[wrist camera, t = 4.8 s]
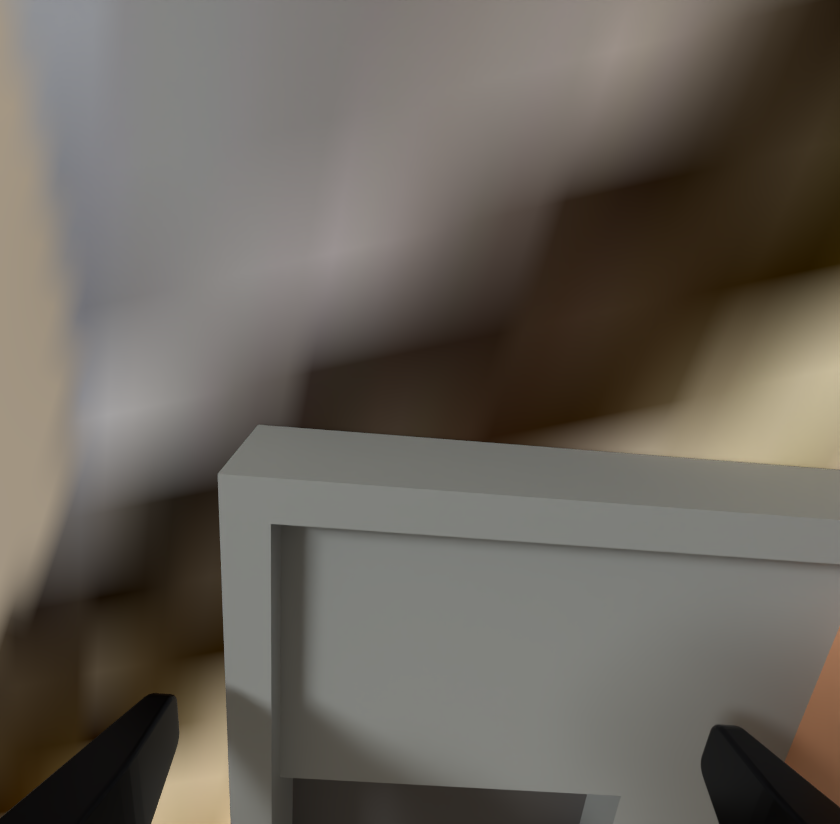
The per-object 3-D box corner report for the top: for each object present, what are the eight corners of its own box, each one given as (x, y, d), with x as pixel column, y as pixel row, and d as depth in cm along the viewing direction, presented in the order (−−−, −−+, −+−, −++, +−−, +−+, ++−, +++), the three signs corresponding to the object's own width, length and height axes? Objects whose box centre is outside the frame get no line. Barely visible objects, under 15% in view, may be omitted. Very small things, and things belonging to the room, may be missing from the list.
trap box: (1151, 493, 11) (1326, 556, 9) (872, 976, 16) (941, 1088, 14) (258, 424, 10) (217, 473, 8) (263, 949, 15) (239, 1062, 13)
